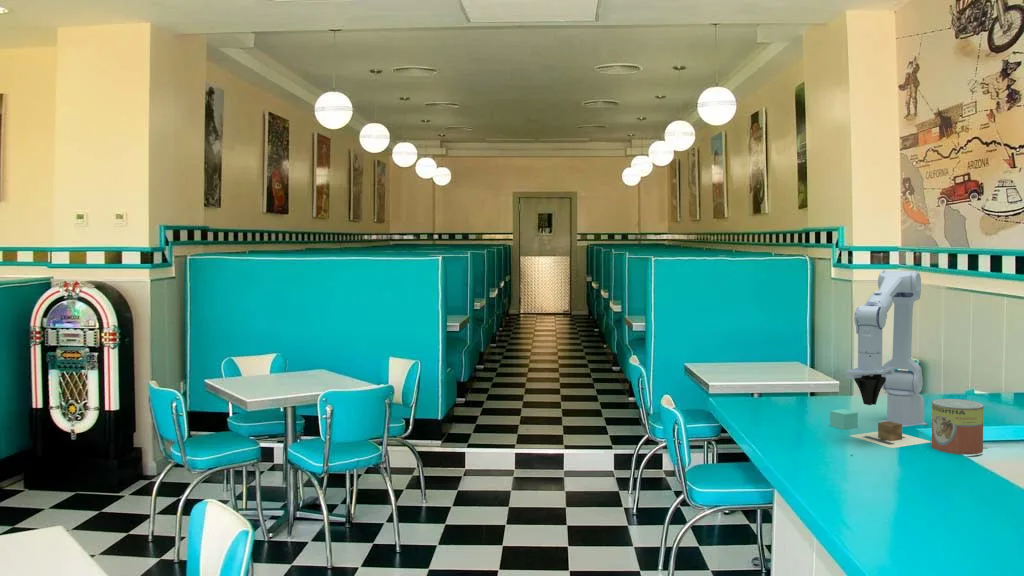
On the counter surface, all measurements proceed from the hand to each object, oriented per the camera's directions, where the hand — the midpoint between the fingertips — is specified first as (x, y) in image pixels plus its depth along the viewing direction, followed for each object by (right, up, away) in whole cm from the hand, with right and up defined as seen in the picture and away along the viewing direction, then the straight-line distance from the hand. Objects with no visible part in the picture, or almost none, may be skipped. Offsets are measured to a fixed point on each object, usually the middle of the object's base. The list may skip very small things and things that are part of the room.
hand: (869, 404), depth 202 cm
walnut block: (+7, -10, +3) cm, 12 cm away
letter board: (+7, -10, +3) cm, 13 cm away
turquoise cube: (0, -10, +17) cm, 19 cm away
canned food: (+18, -11, -7) cm, 23 cm away
